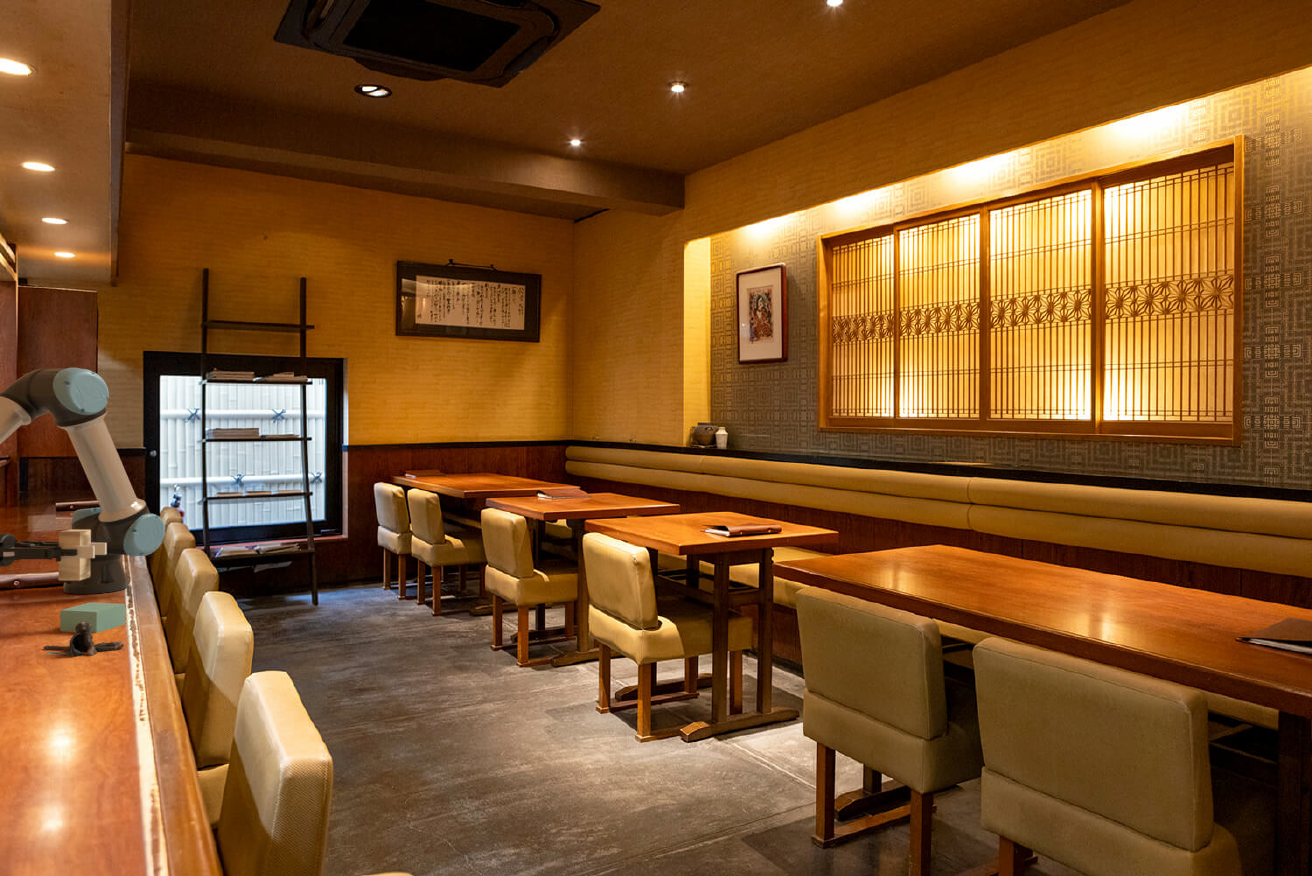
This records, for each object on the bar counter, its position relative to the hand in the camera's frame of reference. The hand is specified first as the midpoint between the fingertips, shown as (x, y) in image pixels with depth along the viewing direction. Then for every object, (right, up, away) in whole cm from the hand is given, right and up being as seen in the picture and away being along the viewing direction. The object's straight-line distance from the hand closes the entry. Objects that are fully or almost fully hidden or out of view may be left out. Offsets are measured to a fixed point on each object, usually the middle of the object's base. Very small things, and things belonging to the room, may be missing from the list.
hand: (99, 550), depth 202 cm
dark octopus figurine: (+8, -19, -19) cm, 28 cm away
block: (-5, -6, 0) cm, 8 cm away
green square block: (-2, -18, +1) cm, 18 cm away
